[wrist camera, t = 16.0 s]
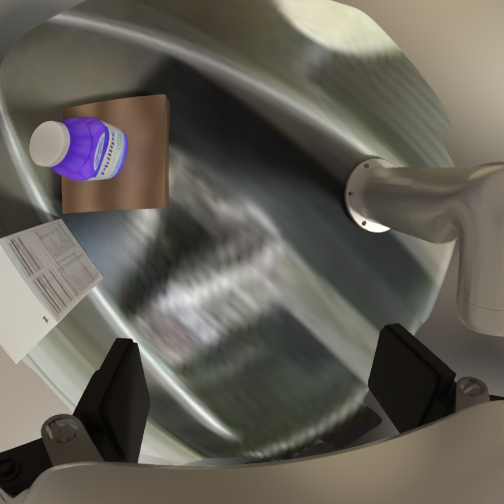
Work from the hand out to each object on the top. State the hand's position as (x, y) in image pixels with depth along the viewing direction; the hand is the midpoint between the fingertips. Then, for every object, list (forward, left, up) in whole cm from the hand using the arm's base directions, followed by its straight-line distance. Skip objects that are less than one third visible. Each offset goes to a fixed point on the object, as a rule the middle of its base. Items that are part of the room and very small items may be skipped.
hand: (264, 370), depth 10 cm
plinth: (+17, -11, -36) cm, 42 cm away
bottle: (+17, -11, -32) cm, 37 cm away
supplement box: (+30, +7, -37) cm, 48 cm away
